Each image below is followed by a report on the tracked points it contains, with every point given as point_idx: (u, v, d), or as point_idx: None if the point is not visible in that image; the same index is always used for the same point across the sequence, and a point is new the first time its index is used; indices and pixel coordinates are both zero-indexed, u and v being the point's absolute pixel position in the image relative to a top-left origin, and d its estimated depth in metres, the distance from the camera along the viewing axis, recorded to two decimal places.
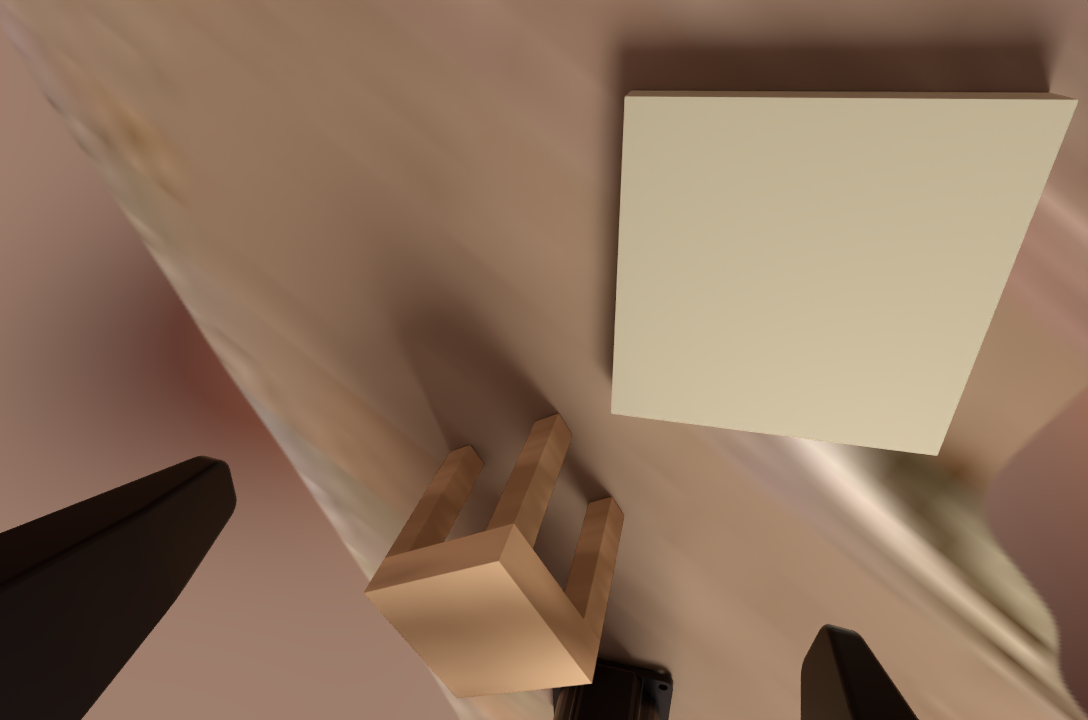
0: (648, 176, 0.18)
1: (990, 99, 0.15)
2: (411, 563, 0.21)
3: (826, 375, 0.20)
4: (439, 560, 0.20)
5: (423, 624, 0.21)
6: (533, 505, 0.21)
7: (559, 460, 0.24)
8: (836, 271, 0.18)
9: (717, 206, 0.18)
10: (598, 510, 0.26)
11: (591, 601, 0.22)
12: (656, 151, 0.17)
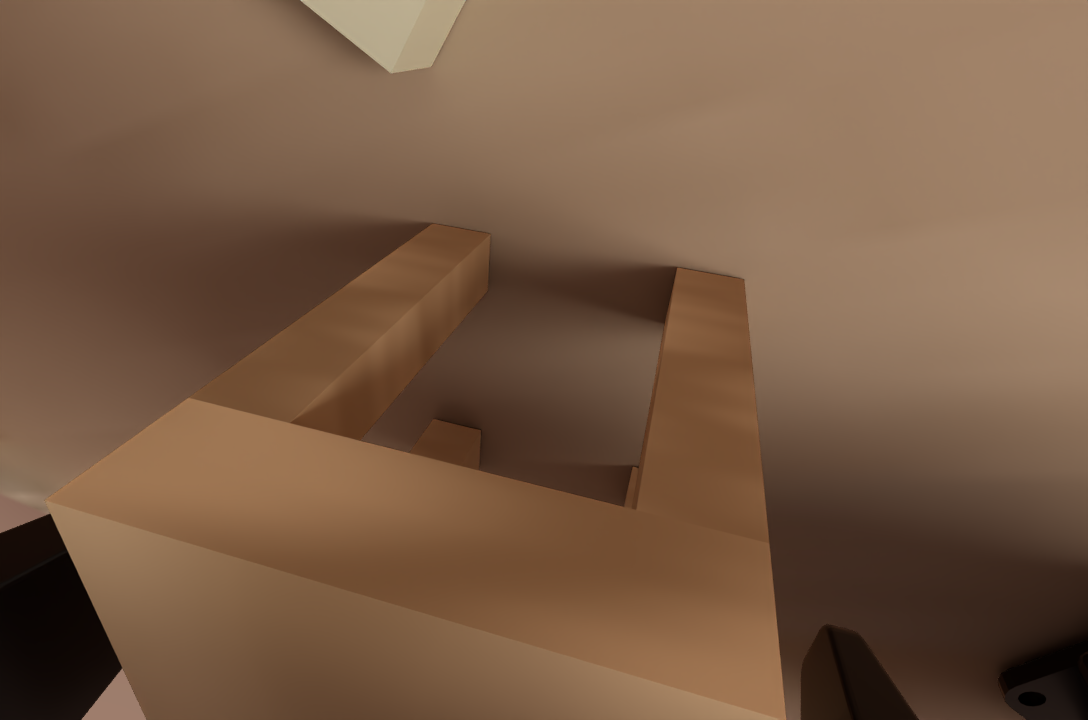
0: None
1: None
2: None
3: None
4: None
5: None
6: (308, 347, 0.07)
7: (441, 267, 0.10)
8: None
9: None
10: (668, 309, 0.11)
11: (662, 453, 0.06)
12: None
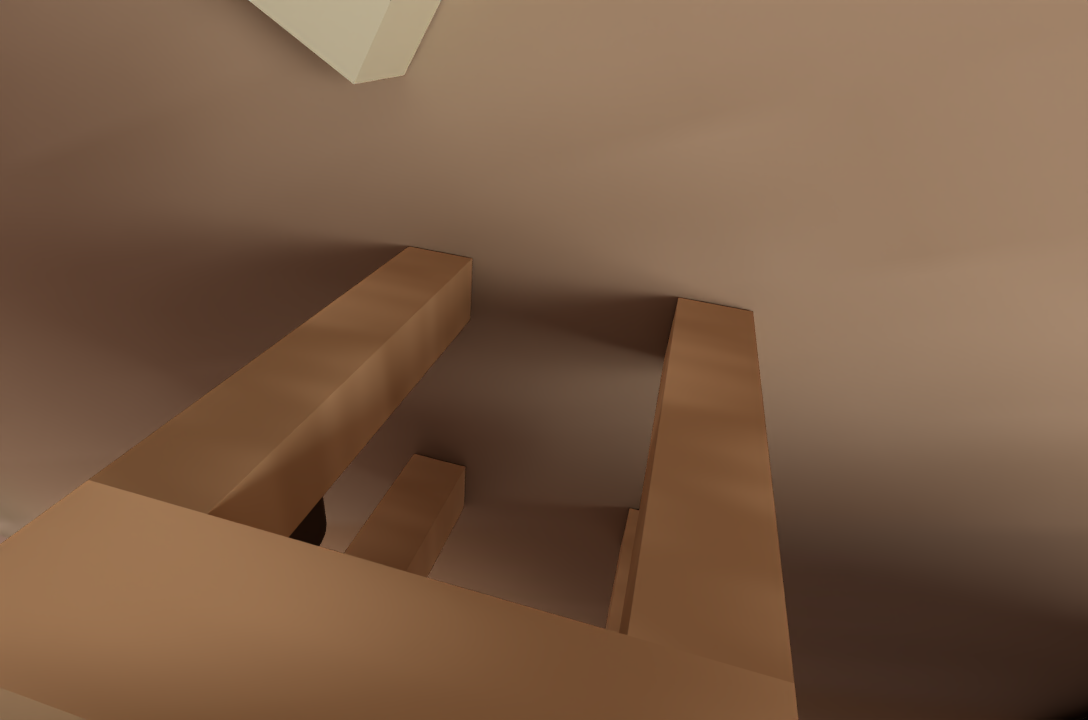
0: None
1: None
2: None
3: None
4: None
5: None
6: (246, 407, 0.06)
7: (413, 299, 0.09)
8: None
9: None
10: (668, 345, 0.10)
11: (661, 548, 0.05)
12: None
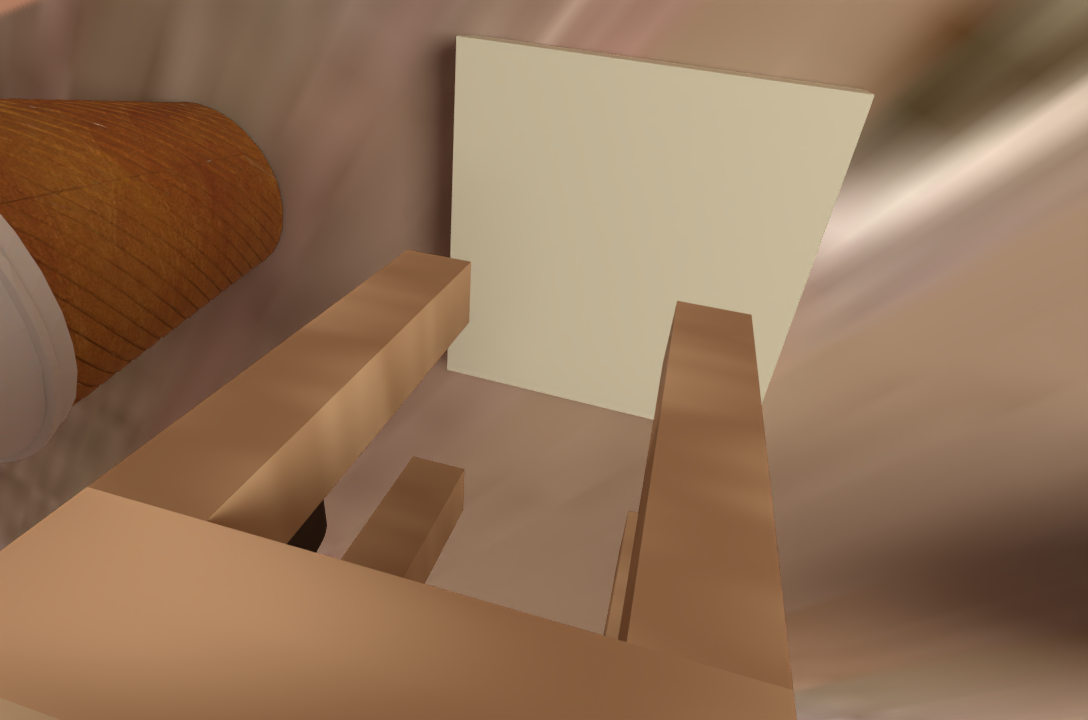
0: (504, 364, 0.21)
1: (454, 107, 0.17)
2: None
3: (723, 230, 0.17)
4: None
5: None
6: (245, 411, 0.06)
7: (412, 304, 0.09)
8: (599, 222, 0.18)
9: (531, 317, 0.20)
10: (667, 348, 0.10)
11: (660, 554, 0.05)
12: (485, 355, 0.21)
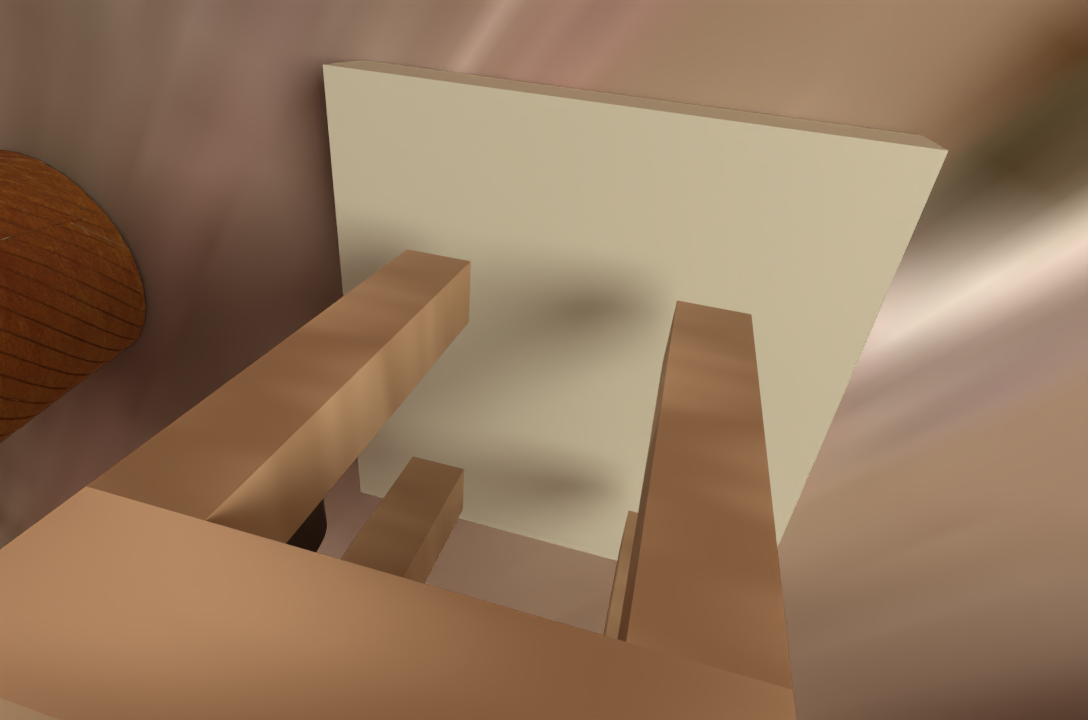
0: None
1: (332, 165, 0.12)
2: None
3: None
4: None
5: None
6: (245, 411, 0.06)
7: (412, 303, 0.09)
8: (543, 320, 0.13)
9: (461, 436, 0.15)
10: (667, 348, 0.10)
11: (659, 553, 0.05)
12: None
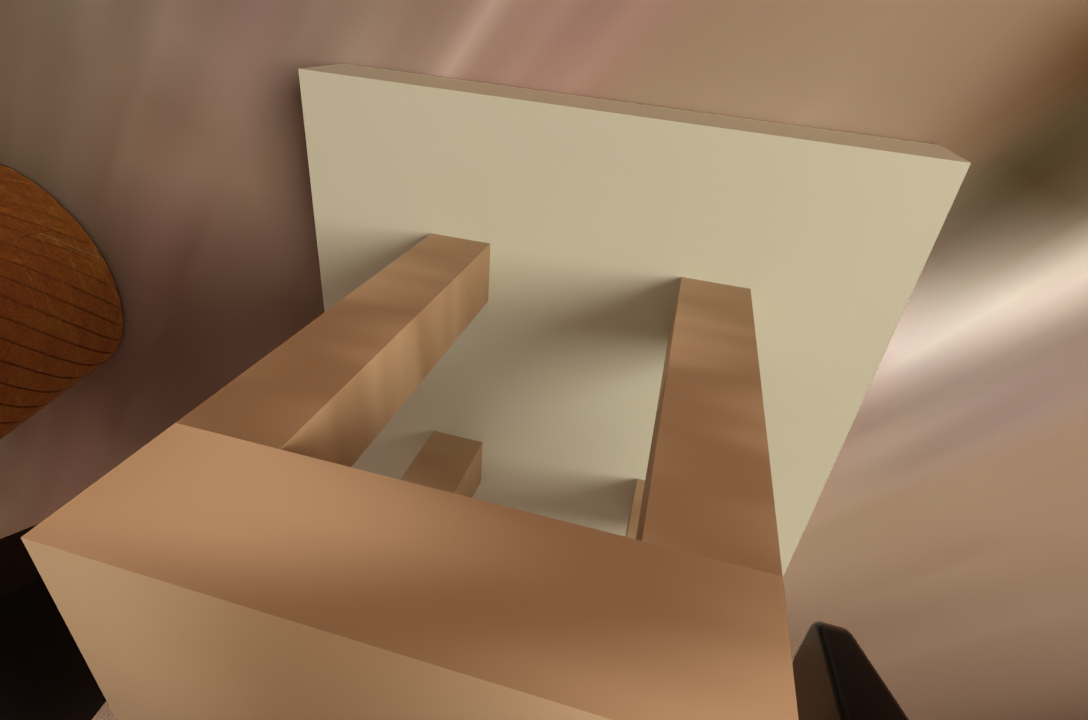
0: None
1: (310, 175, 0.12)
2: None
3: None
4: None
5: None
6: (301, 366, 0.07)
7: (439, 279, 0.10)
8: (535, 340, 0.12)
9: None
10: (673, 320, 0.10)
11: (668, 477, 0.06)
12: None
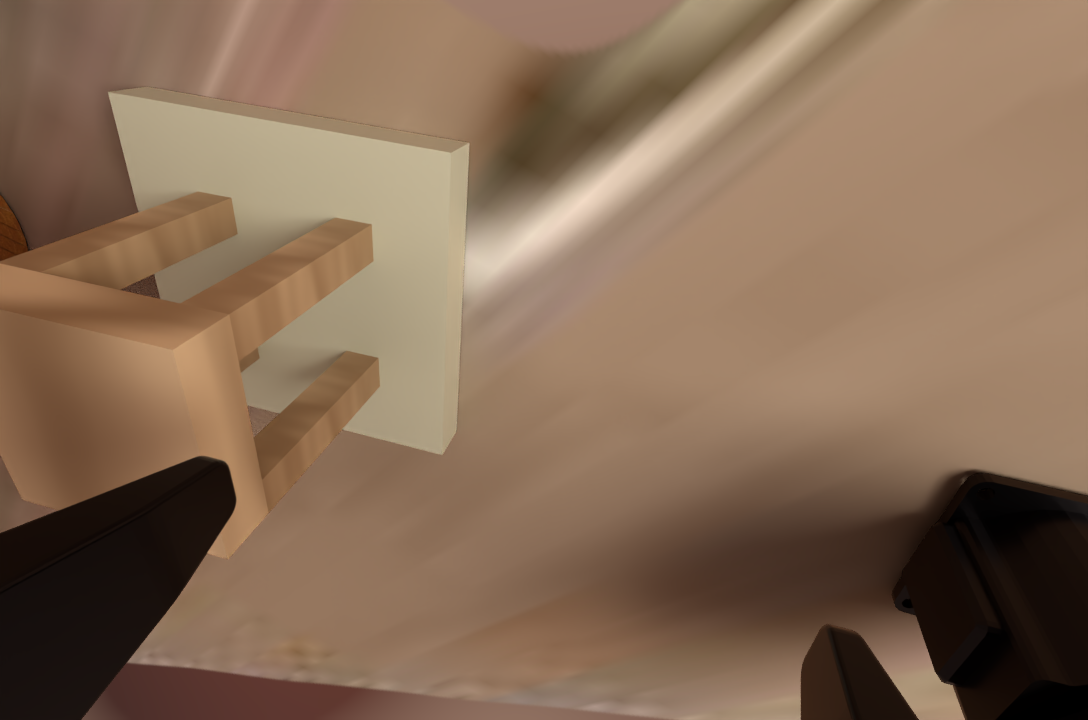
0: None
1: (124, 155, 0.19)
2: None
3: (369, 267, 0.19)
4: None
5: (71, 479, 0.14)
6: (70, 246, 0.15)
7: (180, 214, 0.17)
8: None
9: None
10: None
11: (216, 288, 0.14)
12: None
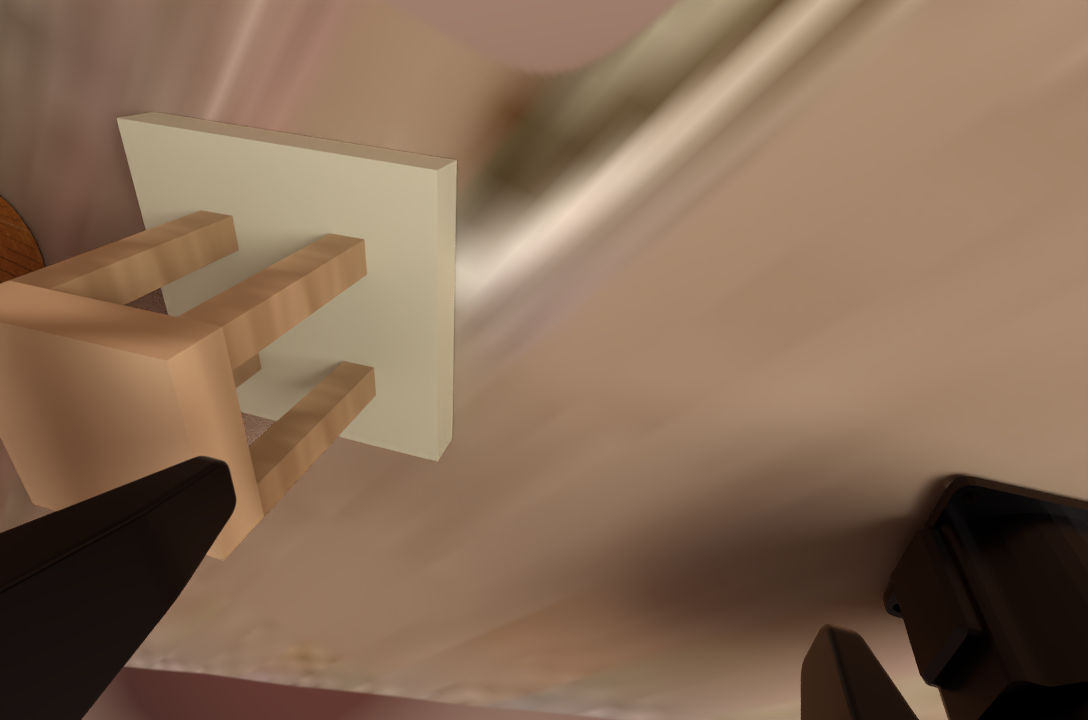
0: None
1: (132, 176, 0.20)
2: None
3: (363, 281, 0.20)
4: None
5: (77, 484, 0.15)
6: (78, 264, 0.16)
7: (182, 232, 0.18)
8: None
9: None
10: None
11: (212, 302, 0.14)
12: None
